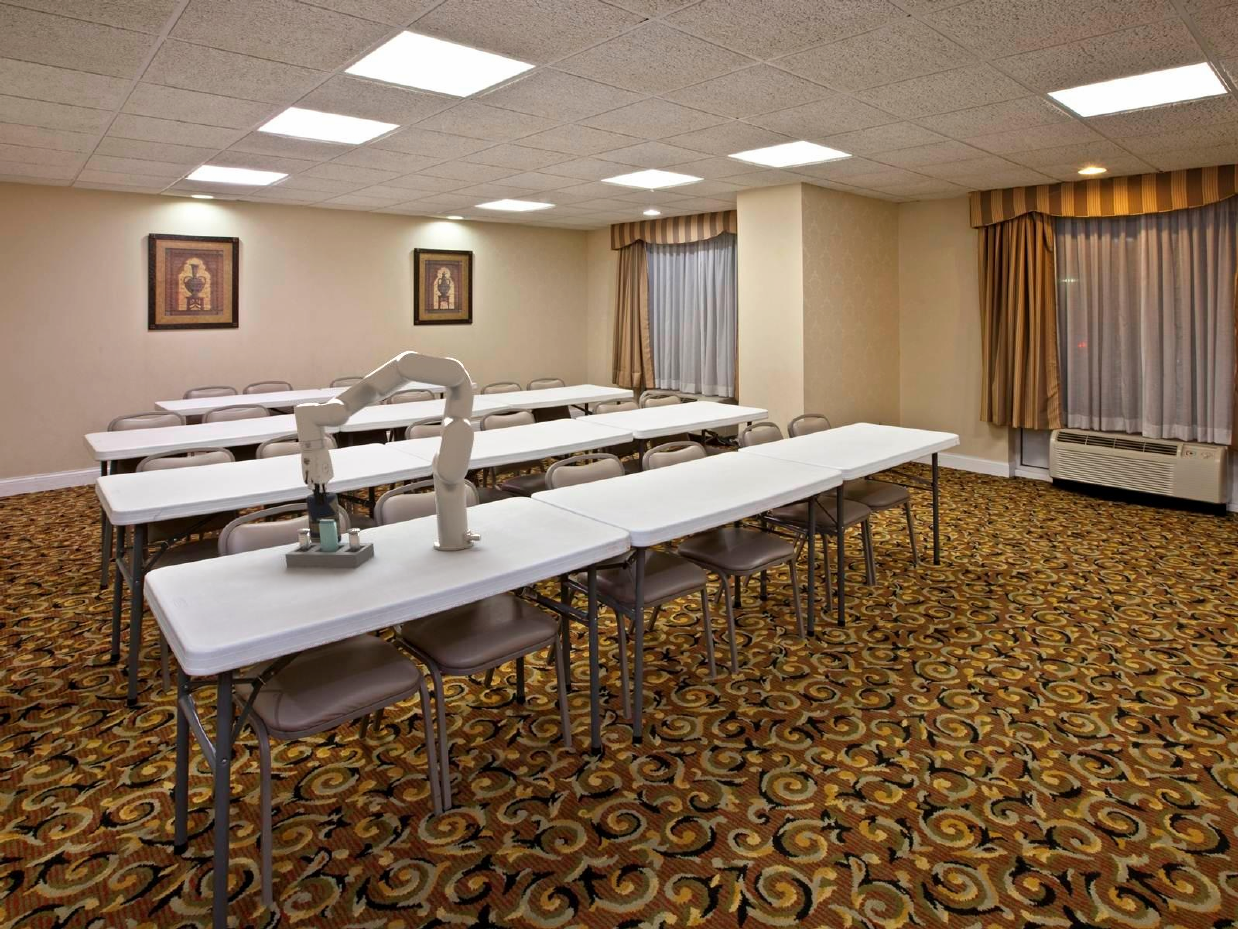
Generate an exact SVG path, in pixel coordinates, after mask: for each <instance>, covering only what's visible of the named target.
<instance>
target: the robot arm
mask: <svg viewBox="0 0 1238 929" xmlns="http://www.w3.org/2000/svg"><path fill="white" fill-rule="evenodd" d="M469 375H470V374H469V373H468V372H467V370H466V369H465V366H464V365H463V364H462V362H460V361H459V360H457V359H454V358H452V357H439V356H435V355H428V354H423V353H419V352H415V351H411V350H410V351H409V350H408V351H405V352H402V353H401V354H399V355H397V356H396V357H394V358H393V359H391V360H390V361H388V362H387V363H385V364H383V365H382V366H380V367H378V368H377V369H376V370H374V371H372V372H371V373H369V374H368V375H366V376H365V377H364V378H362V379H361V380H360V381H358V382H356V383H355V384H353V385H351V386H350V387H349V388H347V389H346V390H344V391H342V392H340V393H339V394H338V395H336V396H334V397H332V398H331V399H330V400H329V401H327V402H326V403H323V404H322V403H321V404H320V403H317V402H309V403H302V404H298V405H296V406H295V407H294V417H295V424H296V429H297V430H296V431H297V438H298V443H299V444H298V445H299V452H301V453H300V455H301V456H300V459H301V460H300V461H301V473H302V479H303V483H304V485H305V486H306V485H307V490H311V491H312V494H314V499H315V505H316V506H324V505H326V504H328V500H327V493H326V492H328V491H327V490H328V486H327V484H328V483H330V481H331V480H332V479H333V478H334V477H335V475H334V468H333V463H332V459H331V458H332V457H331V454H330V451H329V448H328V443H327V437H326V435H327V434H326V429H325V428H327V427H329V428H338V427H342V426H344V425H346V424H347V423H348V421H349V420H350V417H353V416H355V415H356V414H357V413H359V412H360V411H362V410H363V409H365V408H366V407H368V406H370V405H373V404H375V403H378V402H381V401H383V400H385V399H387V398H389V397H390V396H392V395H393V394H395V393H396V392H398V391H399V390H401V389H402V388H404V387H406V386H407V385H408V384H410V383H412V382H416V383H420V384H427V385H434V386H440V387H444V388H445V393H446V394H445V402H444V404H445V405H444V410H443V415H442V418H441V419H442V420H441V423H440V427H439V433H440V437H441V442H440V448H439V450H438V451H437V452H436V453H435V454H434V456H433V458H432V462H431V463H432V464H431V468H432V476H433V486H434V496H435V497H434V498H435V509H436V510H435V511H436V524H437V538H438V539H437V540H435V541H434V542H433V547H434V549H436V550H438V551H447V552H450V551H451V552H452V551H458V550H459V551H460V550H464V548H465V549H467V548H470V547H472V546H473V545H474V543H475V542H481V540H482V535H481V534H480V533H472V529H471V528H470V529H469V528H468V527H469V526H468V525H469V523H468V512H467V511H468V509H467V494H466V482H465V480H466V479H465V477H466V476H467V473H468V471H469V467H470V462H471V456H472V452H473V447H474V441H475V431H474V427H473V426H472V424H471V421H472V420H471V419H472V414H473V406H474V399H475V389H474V385H473V381H472V379H471V378H470V377H471V376H469Z"/></svg>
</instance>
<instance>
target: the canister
mask: <svg viewBox="0 0 1238 929" xmlns="http://www.w3.org/2000/svg"><path fill="white" fill-rule="evenodd" d="M326 493H327V500H328V504H326V505H324V506H316V505H315V499H314V493H311V494H309V495H307V497H306V500H305V501H306V509H307V510H306V511H307V518H308V528H310V532H309V537H310V543H321V538H320V529H319V524H320V520H335V522H336V527H337V537H338V543H341V541H342V539H343V538H342V529H341V521H340V510H339V501H338V495H337V493H335V492H333V491H326Z"/></svg>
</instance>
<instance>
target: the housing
mask: <svg viewBox="0 0 1238 929" xmlns="http://www.w3.org/2000/svg"><path fill="white" fill-rule="evenodd" d="M310 547H311V549H310V550H308V551H306V552H300V545H299V546H297V547H296V548H294V549H292V550H291V551H289V552H287V553H285V563H286V568H332V567H334V568H335V569H337V568H338V569H339V568H341V569H343V568H345V569H348V568H349V569H357V568H359V567H360V566H362V565H363V564H364V563H366V562H367V561H368V559H369V558H370V559H371V558H373V557H374V556H375V549H374V542H360V548H361V550H359V551H358V552H350V544H349V542H339V543H338V547H339V550H338V551H336V552H322V547H321V543H311V542H310ZM373 555H374V556H373ZM370 559H369V560H370ZM365 561H366V562H365ZM334 568H333V569H334Z"/></svg>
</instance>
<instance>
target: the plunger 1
mask: <svg viewBox="0 0 1238 929" xmlns="http://www.w3.org/2000/svg"><path fill="white" fill-rule="evenodd" d="M296 533H297V535H298V543H299V546H300V552H306V551H308V550H310V549H311V547H310V543H311V536H310V528H309V527H301V528H297V529H296Z"/></svg>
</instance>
